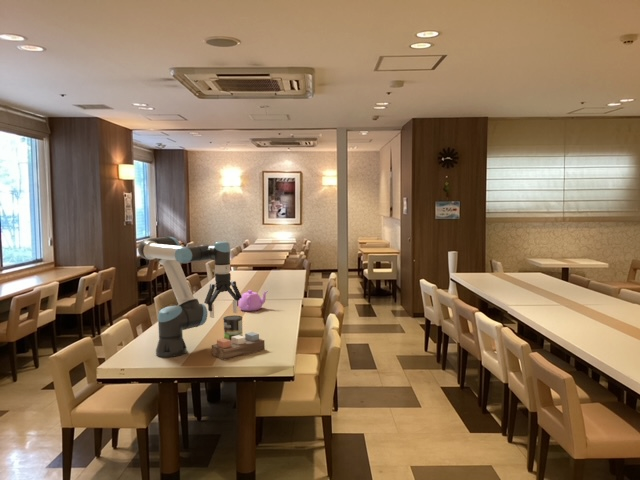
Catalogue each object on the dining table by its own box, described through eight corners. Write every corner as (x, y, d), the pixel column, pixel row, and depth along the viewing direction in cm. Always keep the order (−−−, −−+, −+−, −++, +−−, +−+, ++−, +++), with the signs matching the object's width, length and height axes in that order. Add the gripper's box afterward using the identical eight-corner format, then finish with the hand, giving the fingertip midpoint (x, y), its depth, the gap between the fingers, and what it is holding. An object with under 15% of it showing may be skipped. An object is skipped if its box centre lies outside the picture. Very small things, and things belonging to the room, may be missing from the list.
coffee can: (231, 346, 268) (230, 320, 267) (220, 342, 275) (219, 317, 274) (246, 342, 275) (246, 317, 274) (235, 339, 282) (235, 314, 281)
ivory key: (231, 342, 257) (231, 336, 257) (238, 340, 260) (238, 335, 260) (237, 344, 253) (237, 339, 253) (245, 343, 256) (245, 337, 256)
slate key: (245, 339, 263) (245, 333, 263) (252, 337, 266) (252, 332, 266) (251, 341, 259) (251, 335, 259) (259, 339, 262) (258, 334, 262)
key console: (212, 354, 253) (211, 345, 253) (251, 345, 270) (251, 336, 269) (224, 360, 245) (224, 350, 244) (264, 349, 261) (264, 340, 260)
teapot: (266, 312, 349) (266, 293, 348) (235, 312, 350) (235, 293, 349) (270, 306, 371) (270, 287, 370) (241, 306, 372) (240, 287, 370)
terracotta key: (217, 345, 252) (216, 340, 251) (224, 344, 255) (224, 338, 254) (223, 348, 247) (223, 342, 247) (231, 346, 250) (231, 340, 250)
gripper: (204, 276, 237) (205, 320, 239) (247, 271, 254) (248, 312, 256) (196, 274, 243) (197, 318, 244) (239, 269, 260) (240, 310, 262)
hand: (223, 315), depth 250 cm, fingers open, 13 cm apart
